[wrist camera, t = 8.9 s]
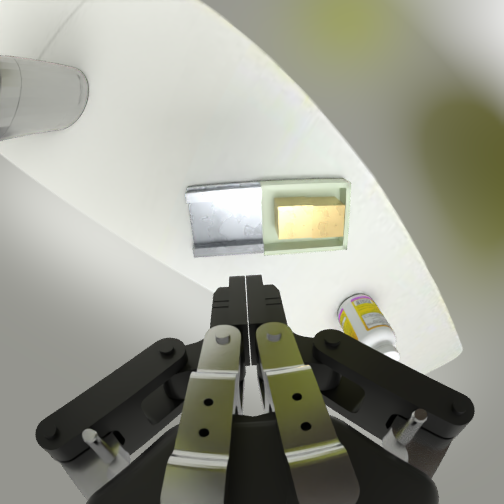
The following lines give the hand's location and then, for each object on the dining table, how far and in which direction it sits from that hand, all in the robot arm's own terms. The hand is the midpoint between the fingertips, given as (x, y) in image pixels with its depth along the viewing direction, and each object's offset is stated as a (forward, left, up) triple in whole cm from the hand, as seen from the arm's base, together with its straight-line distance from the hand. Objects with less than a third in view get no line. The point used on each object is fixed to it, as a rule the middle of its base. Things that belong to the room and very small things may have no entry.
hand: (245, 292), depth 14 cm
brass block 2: (+10, -4, -24) cm, 26 cm away
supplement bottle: (+17, -21, -24) cm, 37 cm away
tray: (+8, -4, -24) cm, 26 cm away
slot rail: (-2, -4, -24) cm, 24 cm away
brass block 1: (+6, -4, -24) cm, 25 cm away
